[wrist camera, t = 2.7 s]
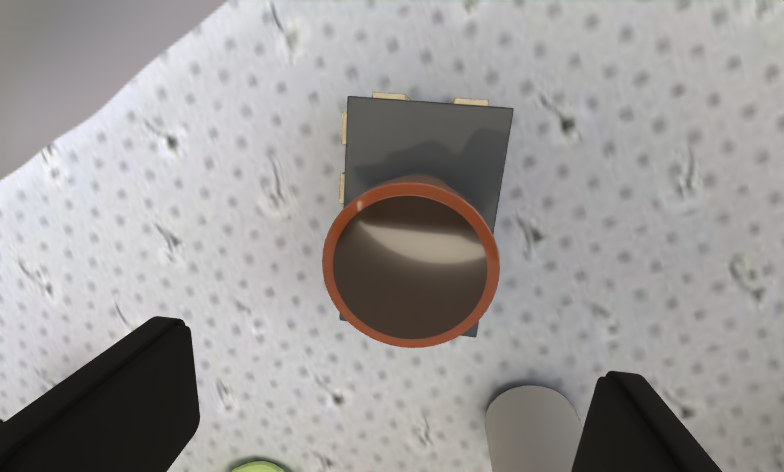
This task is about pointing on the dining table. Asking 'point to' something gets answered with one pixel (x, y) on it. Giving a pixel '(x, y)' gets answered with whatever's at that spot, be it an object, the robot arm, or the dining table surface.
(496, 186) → the dark grey striped block
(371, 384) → the dining table surface
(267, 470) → the figurine
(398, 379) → the dining table surface
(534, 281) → the dining table surface
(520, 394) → the can
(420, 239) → the terracotta pot
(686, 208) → the dining table surface
